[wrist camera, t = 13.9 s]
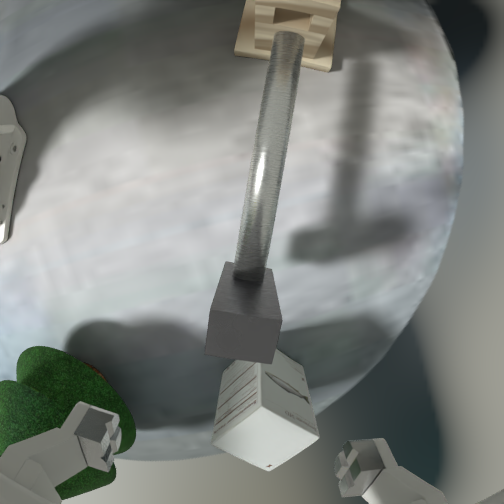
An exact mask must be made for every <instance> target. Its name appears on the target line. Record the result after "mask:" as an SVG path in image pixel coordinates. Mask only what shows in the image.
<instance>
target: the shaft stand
mask: <svg viewBox="0 0 504 504" xmlns="http://www.w3.org/2000/svg"><path fill="white" fill-rule="evenodd" d="M340 5H341V0H246V3H245V7H244V11H243V15H242V19H241V23H240V27H239V31H238V36H237V40H236V44H235V49H234V53H235V56H242V57H250V58H257V59H264V60H269V59H270V54H271V48H272V43H273V38H274V34H275V33H277V32H280V31H290V32H295V33H298V34H300V35H301V36H303V37H304V39H305V43H304V49H303V56H302V62H301V66H302V67H306V68H311V69H315V70H320V71H324V72H329V70H330V69H331V65H332V57H333V49H334V40H335V31H336V22H337V13H338V11H339V9H340Z"/></svg>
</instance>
